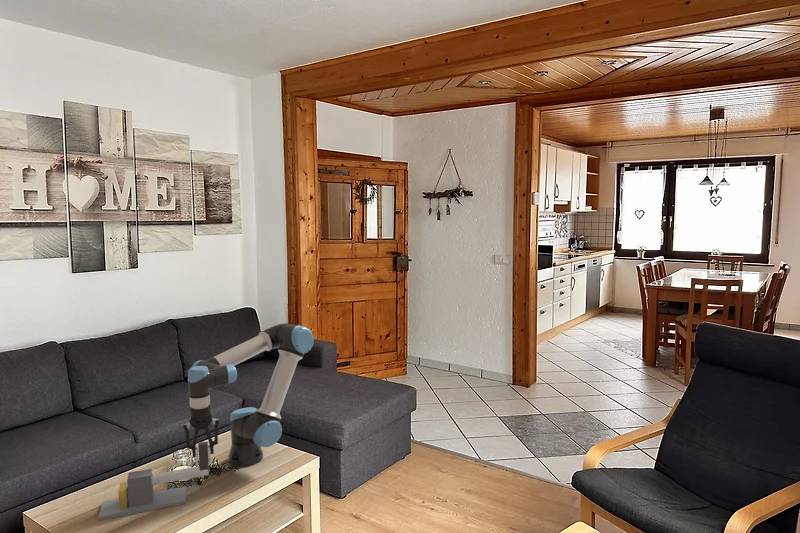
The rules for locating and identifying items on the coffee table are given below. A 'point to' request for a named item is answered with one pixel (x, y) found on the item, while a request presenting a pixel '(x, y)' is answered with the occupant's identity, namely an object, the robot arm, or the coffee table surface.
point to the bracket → (142, 497)
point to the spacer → (123, 495)
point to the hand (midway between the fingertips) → (203, 463)
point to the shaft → (188, 472)
